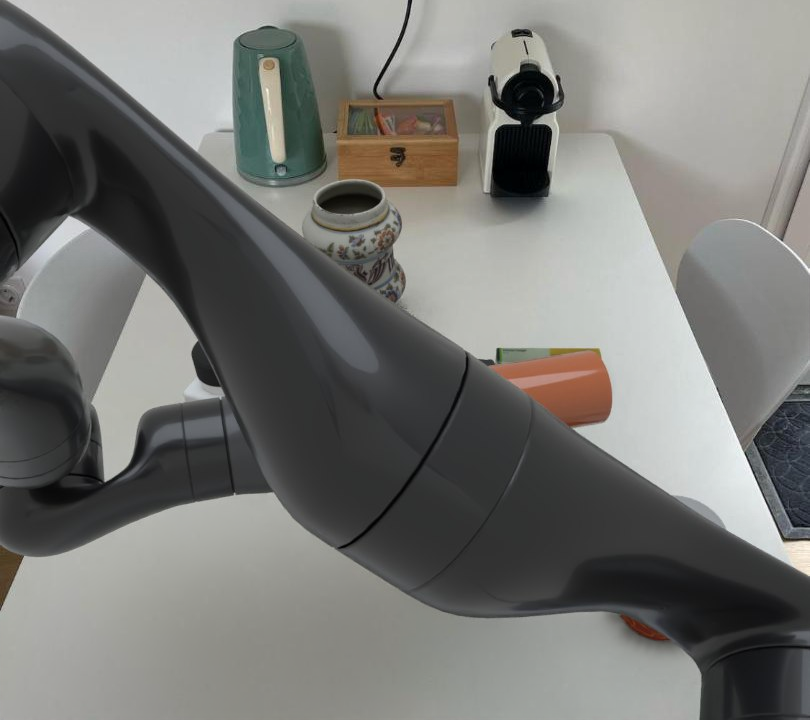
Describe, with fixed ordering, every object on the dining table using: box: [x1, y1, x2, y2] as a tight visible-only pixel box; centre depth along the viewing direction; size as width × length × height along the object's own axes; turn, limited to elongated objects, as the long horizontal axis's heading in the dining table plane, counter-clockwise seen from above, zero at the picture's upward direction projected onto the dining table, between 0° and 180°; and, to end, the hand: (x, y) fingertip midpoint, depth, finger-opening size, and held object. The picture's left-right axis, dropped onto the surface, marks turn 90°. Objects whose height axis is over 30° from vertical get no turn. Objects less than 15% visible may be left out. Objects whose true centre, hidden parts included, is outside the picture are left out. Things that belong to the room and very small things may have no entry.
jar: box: [488, 350, 613, 429], centre depth 62 cm, size 12×6×6 cm, turn 105°
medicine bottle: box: [182, 340, 225, 402], centre depth 88 cm, size 7×7×12 cm
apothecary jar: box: [301, 178, 407, 304], centre depth 99 cm, size 12×12×18 cm
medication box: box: [494, 347, 603, 364], centre depth 94 cm, size 12×3×4 cm, turn 87°
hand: (509, 399), depth 62 cm, fingers closed on jar, 6 cm apart
